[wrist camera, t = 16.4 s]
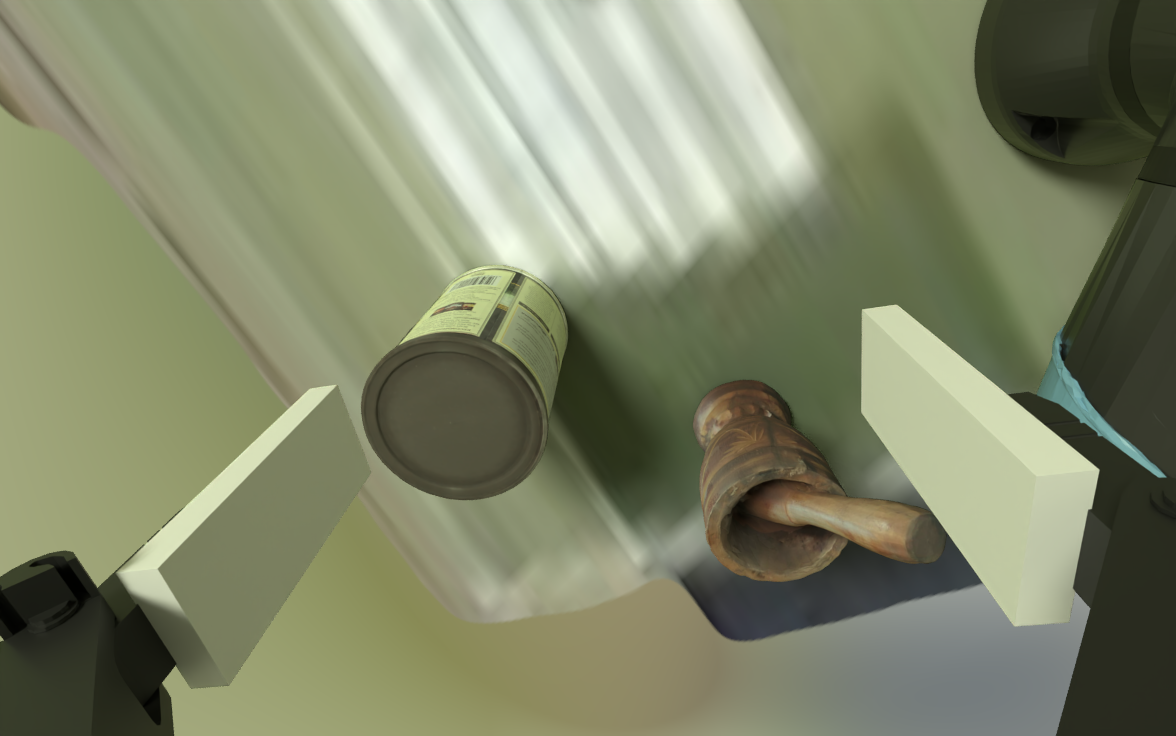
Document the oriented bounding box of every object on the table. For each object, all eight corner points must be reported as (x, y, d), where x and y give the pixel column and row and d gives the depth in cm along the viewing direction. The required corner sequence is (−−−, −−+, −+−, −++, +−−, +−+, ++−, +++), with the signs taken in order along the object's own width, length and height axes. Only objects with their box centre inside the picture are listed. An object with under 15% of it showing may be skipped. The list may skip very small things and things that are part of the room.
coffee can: (494, 413, 49) (447, 529, 36) (406, 315, 46) (321, 404, 33) (597, 345, 46) (585, 445, 33) (510, 235, 43) (460, 298, 30)
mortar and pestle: (740, 318, 44) (818, 479, 26) (843, 363, 45) (986, 549, 27) (669, 440, 49) (692, 648, 31) (763, 479, 50) (839, 702, 32)
